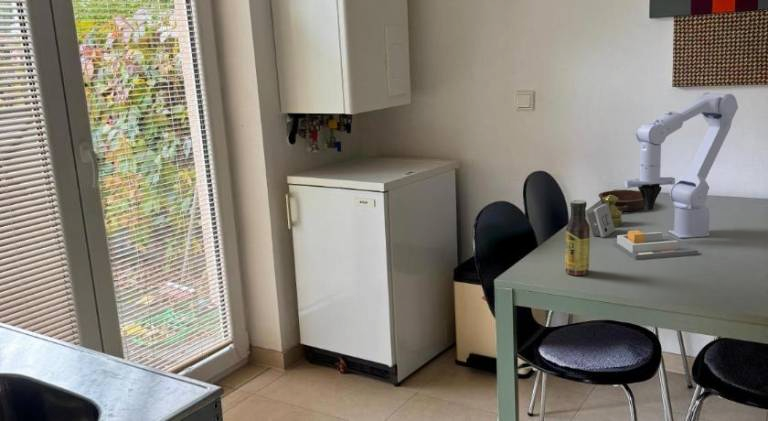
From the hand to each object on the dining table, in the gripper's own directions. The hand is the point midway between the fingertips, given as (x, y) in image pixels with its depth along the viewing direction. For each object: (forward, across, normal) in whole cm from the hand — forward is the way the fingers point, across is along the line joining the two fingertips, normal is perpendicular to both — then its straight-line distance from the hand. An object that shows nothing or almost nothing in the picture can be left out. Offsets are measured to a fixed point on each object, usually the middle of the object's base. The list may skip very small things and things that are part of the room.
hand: (649, 209), depth 214 cm
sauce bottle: (+10, +30, +23) cm, 39 cm away
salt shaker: (+10, +3, -22) cm, 24 cm away
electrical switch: (+10, +10, -12) cm, 19 cm away
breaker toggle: (+9, +7, +8) cm, 14 cm away
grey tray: (+10, +2, +8) cm, 13 cm away
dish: (+10, -11, -44) cm, 46 cm away
